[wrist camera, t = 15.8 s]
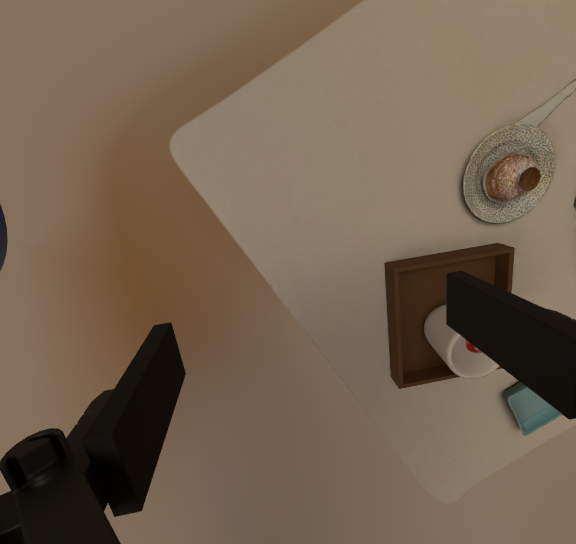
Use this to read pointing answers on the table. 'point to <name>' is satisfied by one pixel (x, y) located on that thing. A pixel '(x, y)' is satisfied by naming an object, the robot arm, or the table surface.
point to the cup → (456, 347)
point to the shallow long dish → (529, 408)
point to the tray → (432, 305)
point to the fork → (547, 107)
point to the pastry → (508, 173)
